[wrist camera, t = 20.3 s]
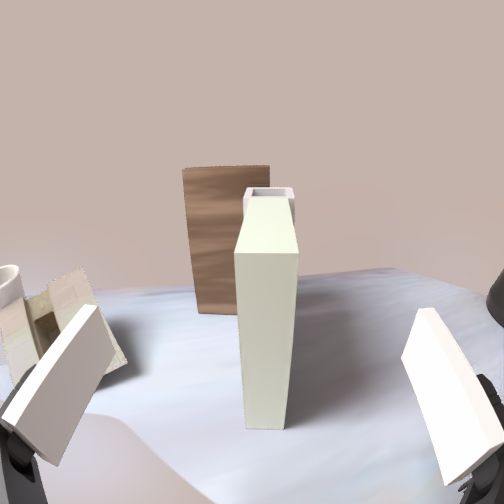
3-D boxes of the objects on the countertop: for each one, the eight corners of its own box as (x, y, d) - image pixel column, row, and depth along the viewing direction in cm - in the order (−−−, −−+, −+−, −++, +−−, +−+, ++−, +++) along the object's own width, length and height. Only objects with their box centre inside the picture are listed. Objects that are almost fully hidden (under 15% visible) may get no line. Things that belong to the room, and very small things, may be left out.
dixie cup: (1, 327, 34) (-21, 275, 29) (38, 311, 39) (19, 259, 35) (1, 355, 28) (-28, 297, 24) (43, 337, 33) (19, 279, 29)
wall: (139, 366, 36) (94, 275, 39) (131, 362, 28) (80, 250, 31) (48, 411, 28) (10, 319, 31) (22, 415, 21) (-17, 303, 24)
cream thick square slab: (290, 429, 23) (310, 253, 16) (238, 428, 23) (222, 252, 16) (286, 322, 38) (291, 187, 31) (251, 321, 39) (247, 187, 31)
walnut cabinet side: (276, 338, 35) (279, 174, 27) (190, 334, 36) (168, 177, 28) (276, 308, 41) (278, 165, 33) (200, 306, 42) (186, 167, 34)
